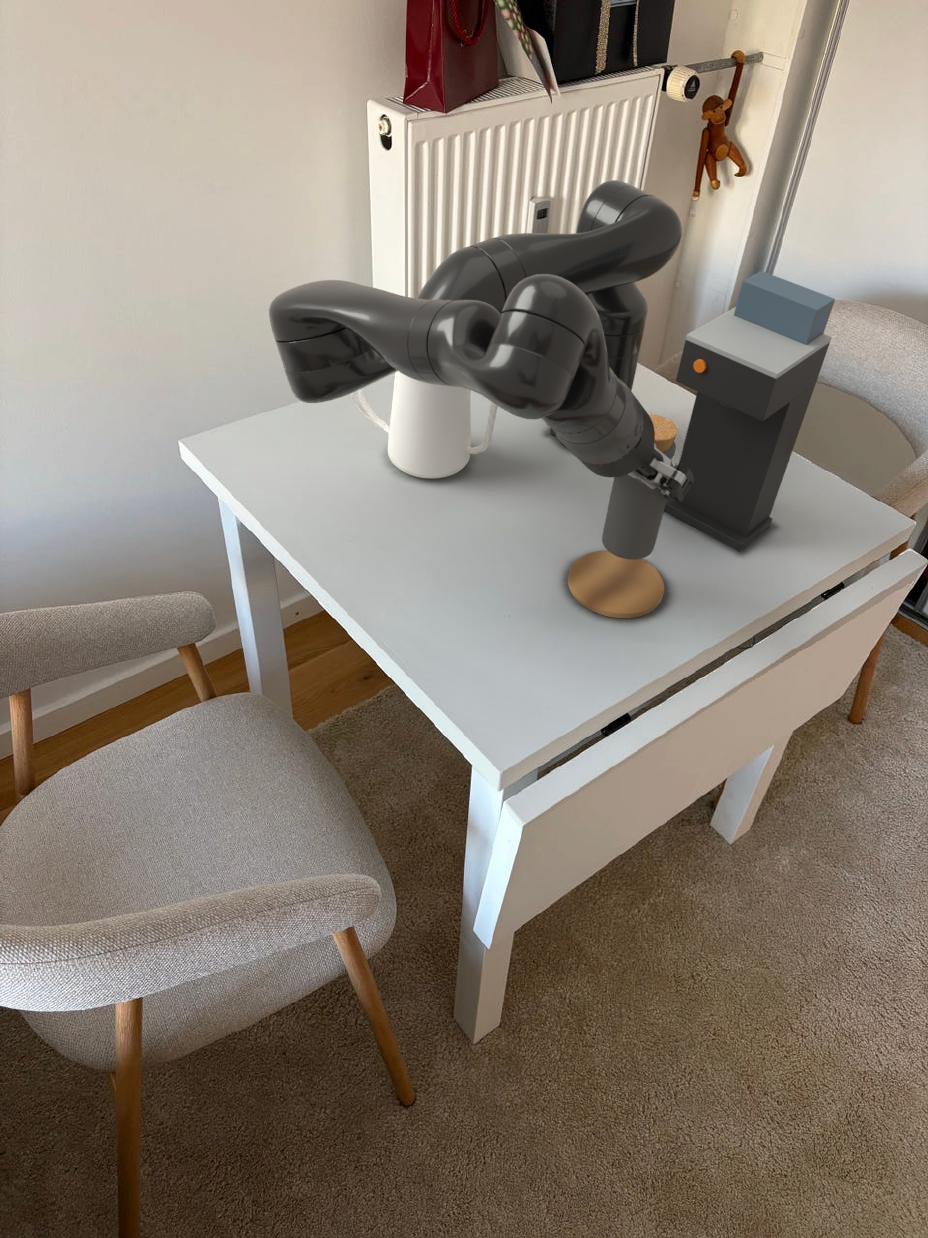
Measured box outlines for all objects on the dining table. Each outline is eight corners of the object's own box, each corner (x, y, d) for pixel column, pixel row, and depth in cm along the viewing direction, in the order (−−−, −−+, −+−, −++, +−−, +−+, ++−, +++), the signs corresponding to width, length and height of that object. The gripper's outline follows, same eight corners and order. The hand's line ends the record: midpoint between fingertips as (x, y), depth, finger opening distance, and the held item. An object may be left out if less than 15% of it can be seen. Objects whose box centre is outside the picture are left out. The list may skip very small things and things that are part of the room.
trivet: (550, 592, 112) (551, 587, 112) (594, 543, 119) (595, 538, 119) (638, 632, 108) (639, 627, 108) (677, 579, 115) (679, 574, 115)
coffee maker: (719, 570, 117) (791, 340, 97) (636, 524, 122) (688, 298, 102) (770, 526, 124) (848, 303, 104) (690, 484, 130) (749, 265, 109)
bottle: (652, 564, 107) (682, 447, 96) (598, 554, 107) (623, 437, 97) (655, 532, 111) (685, 416, 101) (604, 523, 111) (627, 406, 101)
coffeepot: (510, 505, 124) (526, 370, 111) (328, 457, 129) (323, 323, 116) (534, 460, 131) (552, 329, 118) (361, 416, 136) (361, 286, 123)
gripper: (520, 427, 93) (578, 480, 108) (645, 493, 87) (688, 541, 102) (562, 358, 93) (614, 421, 108) (691, 420, 86) (728, 478, 101)
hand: (650, 479), depth 105 cm, fingers closed on bottle, 6 cm apart
